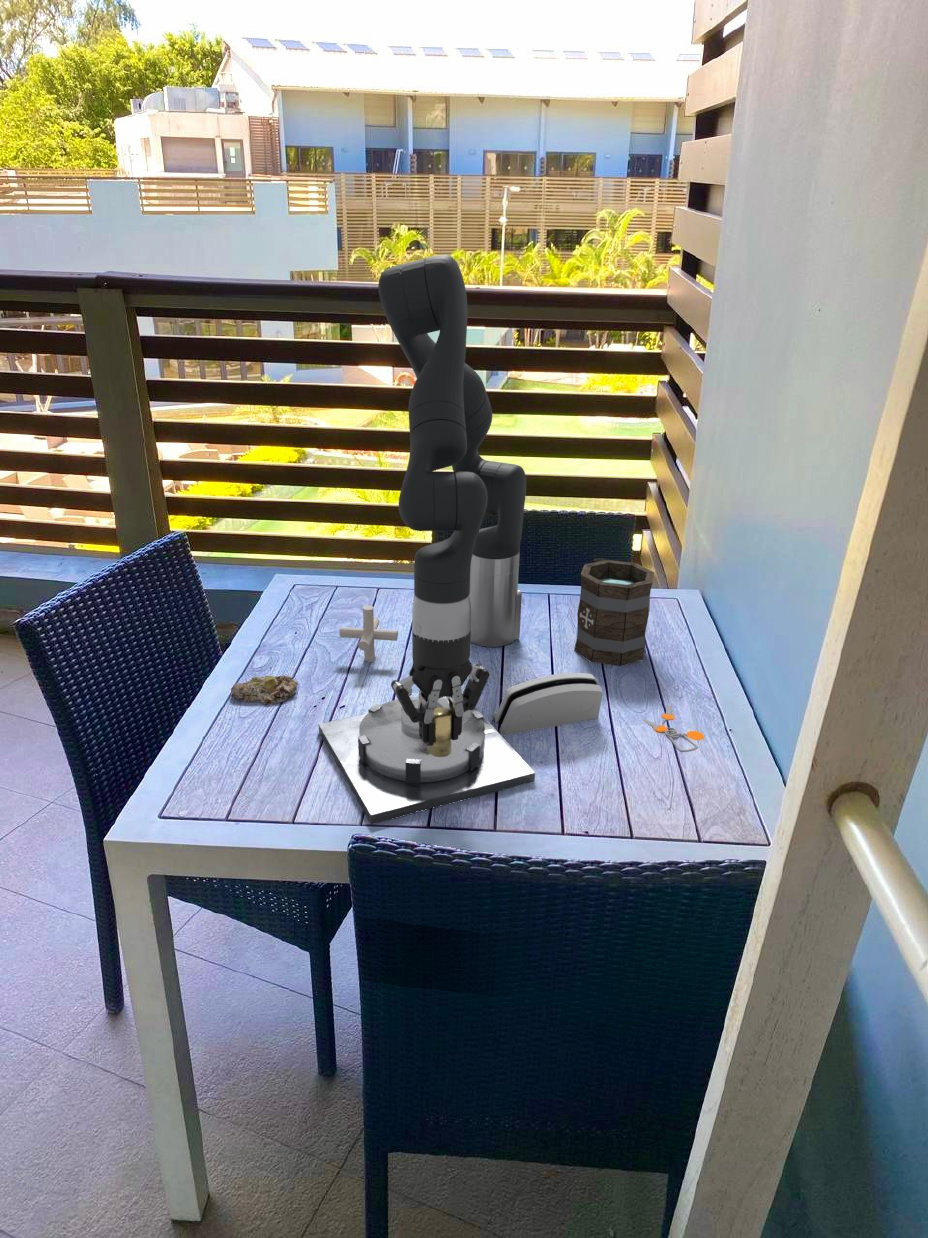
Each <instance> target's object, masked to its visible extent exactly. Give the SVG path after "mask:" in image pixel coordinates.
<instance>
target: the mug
mask: <svg viewBox="0 0 928 1238" xmlns="http://www.w3.org/2000/svg"><path fill="white" fill-rule="evenodd" d="M654 576H655V572H654V571H652V570H651V569H649V568H646V567H645V566H643V565H640V564H638V563H636V562H632V561H631V562H629V561H622V560H613V559H612V560H611V559H606V558H605V557H597V558H594V559H593V561H592V562H591V563H590V562H589V563H585V564H583V568H582V570H581V573H580V594H579V602H578V606H577V609H578V610H577V629H576V630H577V631H576V632H577V633H576V640H575V646H574V649H573V651H574V652H575V653H577V654H578V655H580V656H581V657H582V658H584V659H586V660H588V661H589V662H591V663H593V664H601V665H609V666H610V665H611V666H615V667H616V666H617V667H623V666H626V665H627V666H628V665H630V664H634V663H638V662H641V661H643V660H644V656H645V651H646V632H647V626H648V620H649V617H650V609H651V607H650V605H651V604H650V603H651V602H650V601H651V600H650V599H651V591H652V585H653V582H654Z"/></svg>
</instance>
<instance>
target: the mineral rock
mask: <svg viewBox="0 0 928 1238" xmlns="http://www.w3.org/2000/svg"><path fill="white" fill-rule="evenodd" d="M298 684H299V682H298V681H297V680H296V678H294V679H293V678H292V676H290V675H288V674H286V675H278V676H274V675H267V676H266V675H264V676H261V677H260V676H259V677H258V676H253V677H252V678H251V679H250V680H248V681H246V682H242V683H241V682H238V683H235V684H233V686H232V687H231V688H230V691H231V698H233V699H237V701H238V702H244V703H245V702H246V703H247V702H249V703H252V702H255V703H262V704H263V705H275V704H276V703H281V702H285V701H287V698H290V697H292V696H294V694H295V693H296V691H297V690H298V688H297V687H298V686H299V685H298Z"/></svg>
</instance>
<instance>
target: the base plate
mask: <svg viewBox="0 0 928 1238" xmlns="http://www.w3.org/2000/svg"><path fill="white" fill-rule="evenodd" d="M443 698H444V699H447V696H444V697H443ZM473 711H479V709H478V708H477V707H475V709H473ZM367 714H368V713H365V714H360V715H354V716H351V717H350V716H349V717H345V718H341V719H337V720H331V721H327V722H322V723H318V733H319V735H320V737H321V738H322V741H323V742H324V744H325V746H326V748H327V749H328V752H329V753H330V754H331V756H332V757H333V759H334V761H335V763H336V765H337V767H338V768H340V769H339V770H340V772H341V774H342V775H343V778H344V779H345V781H346V782H347V784H348V786H349V787H350V790H351V791H352V793H353V795H354V796H355V799H356V800H357V802H358V803H359V806H360V807H361V809H362V811H363V812H364V815H365V816H366V817H367V819H368V821H369V823H370V825H376V824H378V823H379V824H380V823H382V822H386V820H387V821H390V820H393V819H392V818H394V819H397V818H396V817H398V818H401V817H400V816H402V817H404V816H403V815H406V816H408V815H407V814H409V815H411V814H410V813H413V814H416V813H415V812H416V811H421V810H425V809H428V810H431V809H430V808H432V809H434V808H433V807H436V808H439V807H438V806H440V805H444V806H447V805H446V804H448V805H450V804H449V803H451V804H454V803H453V802H455V803H458V801H459V802H461V801H460V800H463V801H465V800H464V799H467V800H469V799H468V798H470V799H474V798H478V797H480V796H485V795H488V794H492V793H496V792H500V791H504V790H508V789H511V788H515V787H519V786H522V785H527V784H528V785H529V784H532V783H534V782H535V781H536V779H535V777H536V772H535V771H534V769H532V768H531V767H530V766H529V764H528V763H527V762H526V761H525V760H524V759H523V758H522V756H521V755H520V754H519V753H518V752H517V751H516V750H515V749H514V748H513V747H512V746H511V744H510V743H509V742H508V741H507V740H506V739H505V738H504V737H503V735H502V734H501V733H500V732H499V731H497V729H496V728H495V727H494V726H493V725H492V724H491V722H490V721H488V719H486V717H485V716H484V715H483V714H482V716H483V717H484V726H485V744H484V753H483V756H482V758H481V759H480V761H479V765H478V766H477V767H475V768H474V769H473V770H472V771H470V770H468V771H467V772H465V773H463V774H461V775H458V776H456V777H453V778H449V779H445V780H440V781H433V782H421V783H420V784H418V783H406V781H403V780H398V779H394V778H390V777H387V776H385V775H382V774H380V773H378V772H377V771H375V770H373V769H372V768H371V767H370V766H368V765H367V764H366V763H363V762H362V761H361V759H360V757H359V749H358V737H359V727H360V723H361V721H362V719H363V718H364V717H365V716H366V715H367ZM440 807H441V806H440ZM425 811H426V810H425ZM421 812H422V811H421Z"/></svg>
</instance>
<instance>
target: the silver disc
mask: <svg viewBox="0 0 928 1238" xmlns="http://www.w3.org/2000/svg"><path fill="white" fill-rule="evenodd" d="M409 697H410V699H411V701H412V703H413V705H414V706H415V708H418V705H419V697H418V696H409ZM444 698H445V697H441V698H439V699H438V703H437V707H436V709H434V714H433V719H432V722H433V723H434V744H433V745H432V746H427V745H426V743H424V742H423V741H422V740H421V738H420V736H419V721H418V722H416V723H413V722H412V721H411V719H410V718H409V716H408V715H407V714H406V713H405V711H404V709H403V707H402V706H401V704H400V702H399V700H398V698H397V699H393V700H390V701H387V702H385V703H382V704H379V703H376V704H375V705H373V706H372V707H370V708H368V713H366V714H367V715H366V716H365V717H364V718H363V719H362V721H361V723H360V727H359V737H358V749H359V757H360V759H361V761H362V762H363V763H366V764H367V765H368V766H370V767H371V768H372V769H373V770H375V771H377V772H378V773H380V774H382V775H385V776H387V777H390V778H394V779H398V780H403V781H406V783H418V784H420V783H421V782H433V781H440V780H445V779H449V778H453V777H456V776H458V775H461V774H463V773H465V772H467V771H468V770H470V771H472V770H473V769H474V768H475V767H477V766H478V765H479V761H480V759H481V758H482V756H483V753H484V744H485V726H484V717H485V716H484V715H483V714H482V712H480V711H479V710H478V711H473V710H467V711H465V712H464V714H463V715H462V732H461V735H458V739H457V740H452V739H451V736H452V712H451V711H450V708H449V706H448V700H447V699H444ZM482 715H483V716H484V717H483V716H482Z"/></svg>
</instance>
